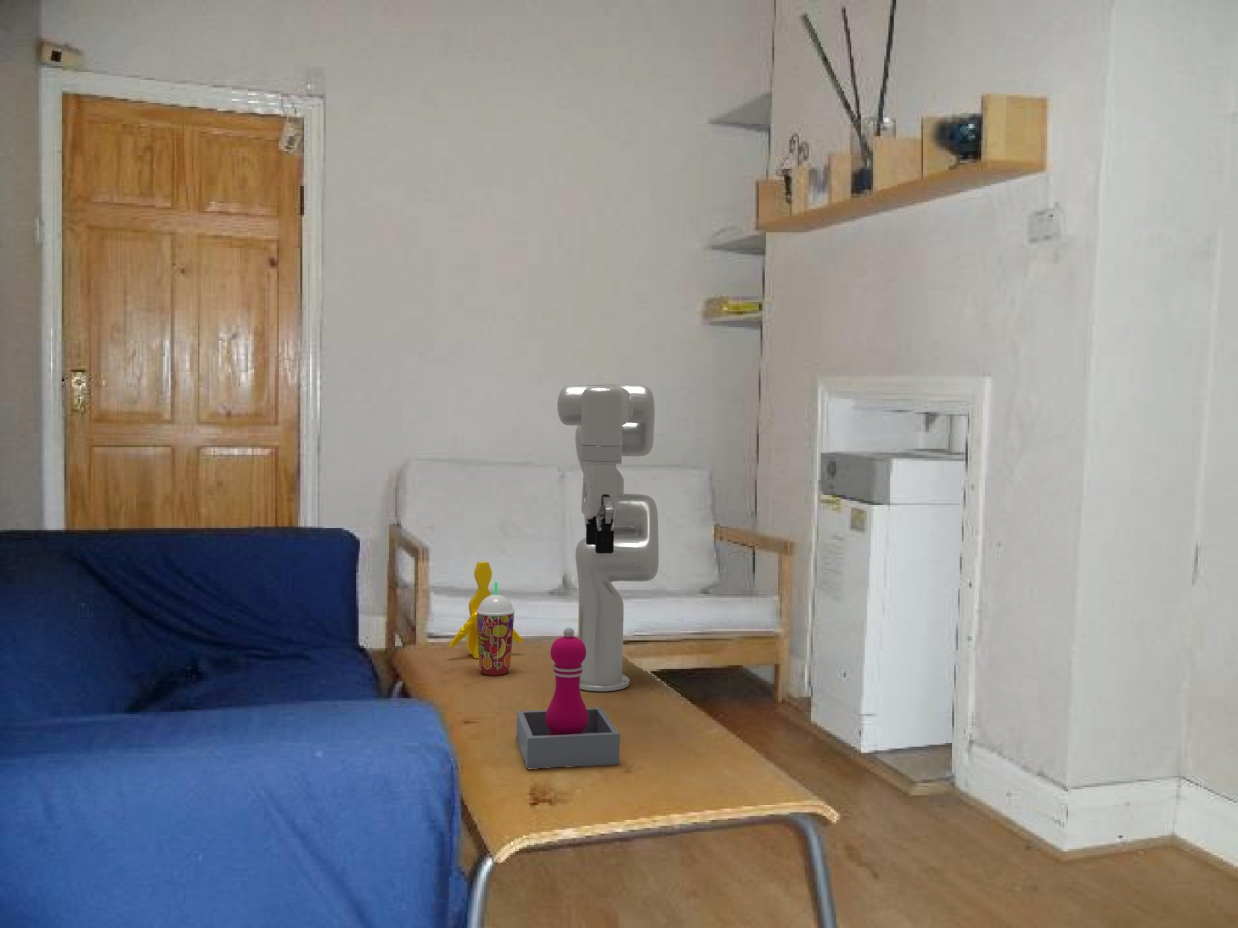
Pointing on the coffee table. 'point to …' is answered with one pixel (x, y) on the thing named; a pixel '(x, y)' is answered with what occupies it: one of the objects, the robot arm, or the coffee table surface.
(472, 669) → the coffee table surface
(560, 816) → the coffee table surface
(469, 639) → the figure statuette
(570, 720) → the pepper mill
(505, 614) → the smoothie
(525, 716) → the bin
